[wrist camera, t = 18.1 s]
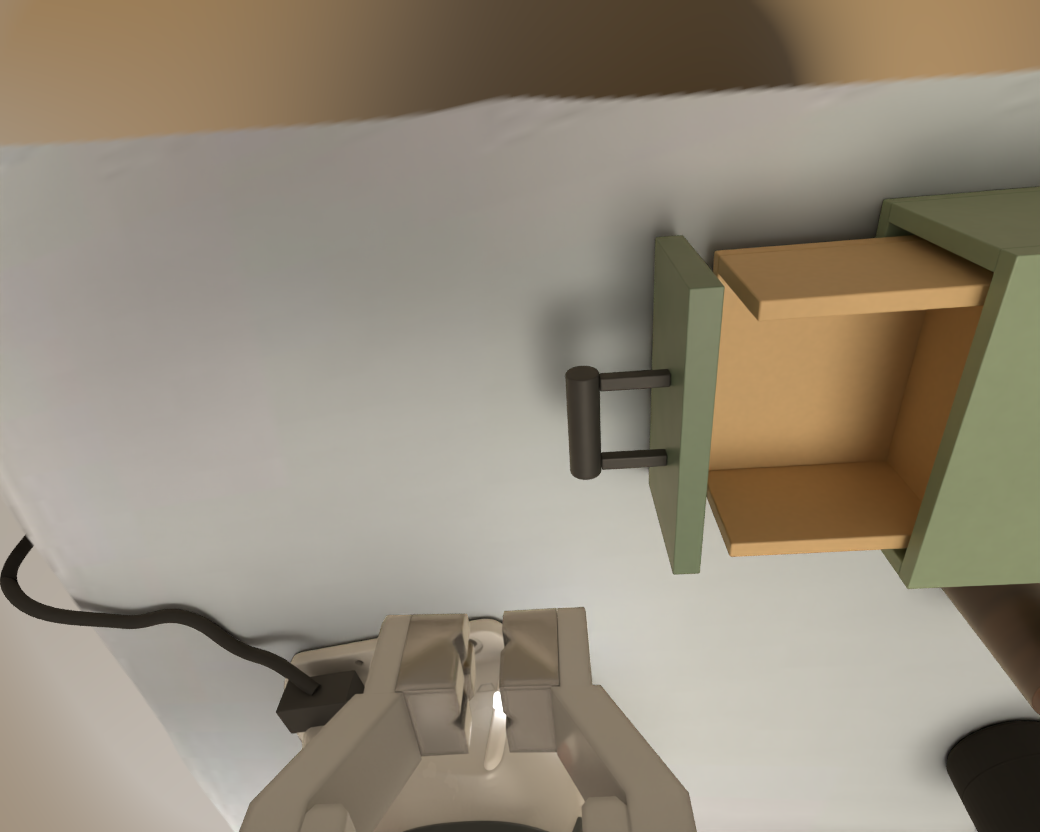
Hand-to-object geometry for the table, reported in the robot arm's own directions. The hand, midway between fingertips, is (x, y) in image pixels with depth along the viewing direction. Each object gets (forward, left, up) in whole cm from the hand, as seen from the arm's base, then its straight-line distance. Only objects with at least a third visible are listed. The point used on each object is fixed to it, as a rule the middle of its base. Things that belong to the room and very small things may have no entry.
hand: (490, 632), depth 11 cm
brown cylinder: (+27, -20, -20) cm, 39 cm away
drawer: (+10, -5, -19) cm, 22 cm away
